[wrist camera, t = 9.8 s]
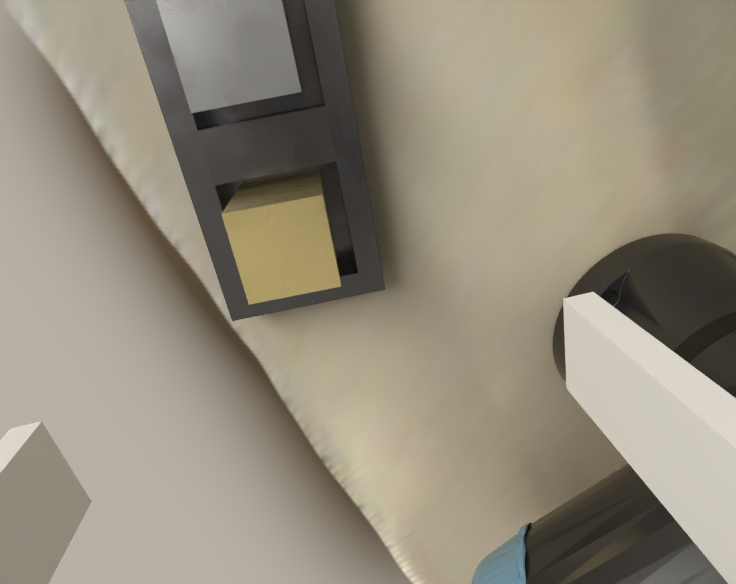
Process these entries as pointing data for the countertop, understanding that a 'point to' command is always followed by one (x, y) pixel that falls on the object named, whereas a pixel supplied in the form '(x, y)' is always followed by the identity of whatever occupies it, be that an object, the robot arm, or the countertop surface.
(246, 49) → the grey block
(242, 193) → the yellow block
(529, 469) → the countertop surface
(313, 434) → the countertop surface
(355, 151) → the dark grey tray
